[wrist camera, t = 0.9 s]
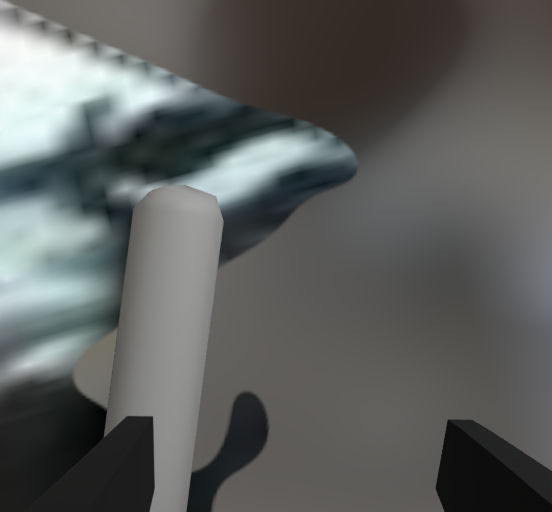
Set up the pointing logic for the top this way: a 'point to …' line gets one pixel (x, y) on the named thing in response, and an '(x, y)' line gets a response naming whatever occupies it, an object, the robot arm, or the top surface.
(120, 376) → the tube
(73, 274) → the top surface
